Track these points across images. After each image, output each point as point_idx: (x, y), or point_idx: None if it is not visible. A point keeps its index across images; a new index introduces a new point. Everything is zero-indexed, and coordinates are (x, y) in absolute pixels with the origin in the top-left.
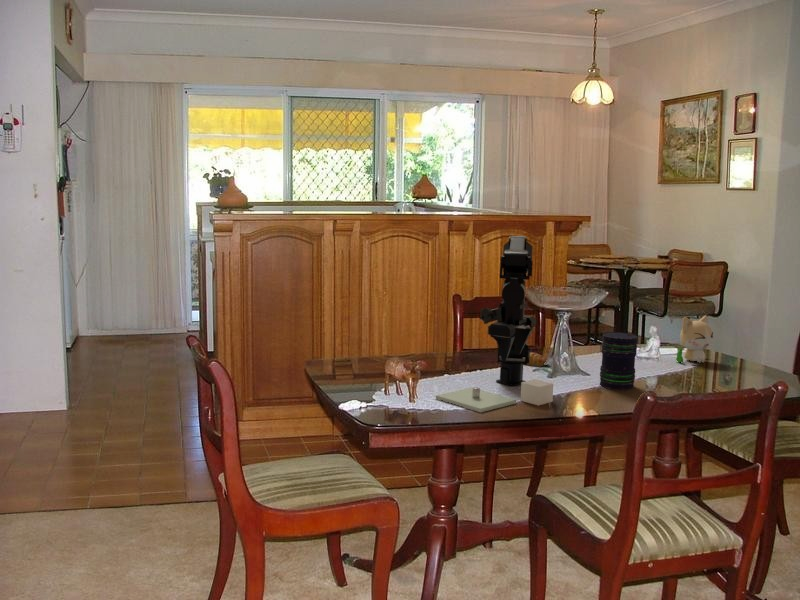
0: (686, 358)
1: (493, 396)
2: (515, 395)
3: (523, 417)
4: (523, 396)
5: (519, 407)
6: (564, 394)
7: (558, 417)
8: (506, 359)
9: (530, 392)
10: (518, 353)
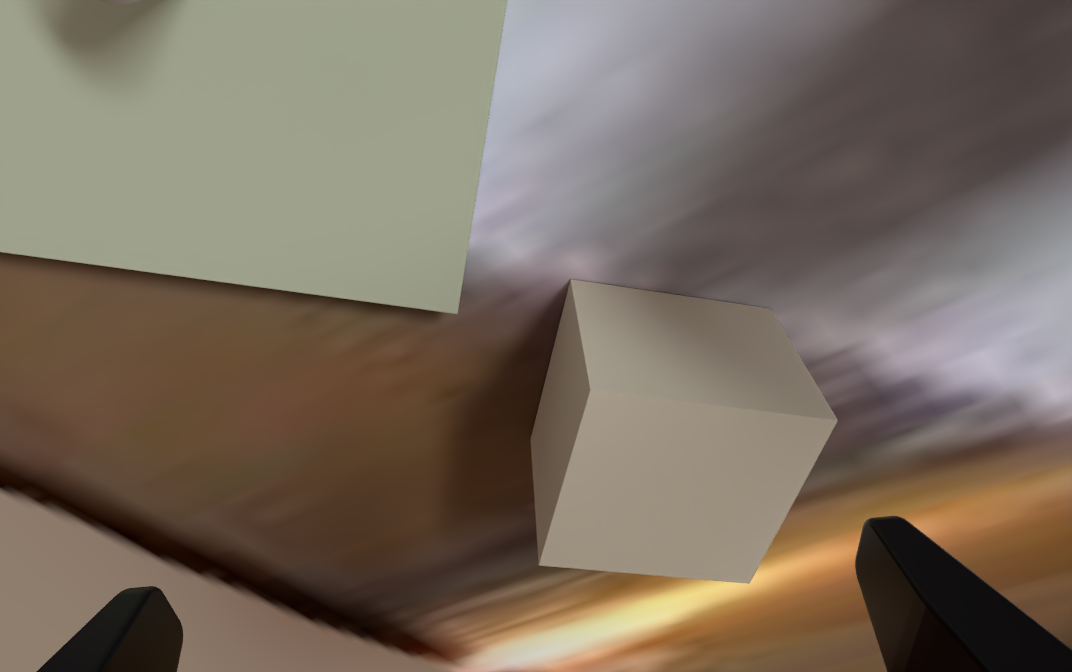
0: None
1: (379, 81)
2: (727, 150)
3: (163, 499)
4: (566, 334)
5: (367, 369)
6: (984, 428)
7: (366, 615)
8: (170, 660)
9: (556, 434)
10: (860, 568)
